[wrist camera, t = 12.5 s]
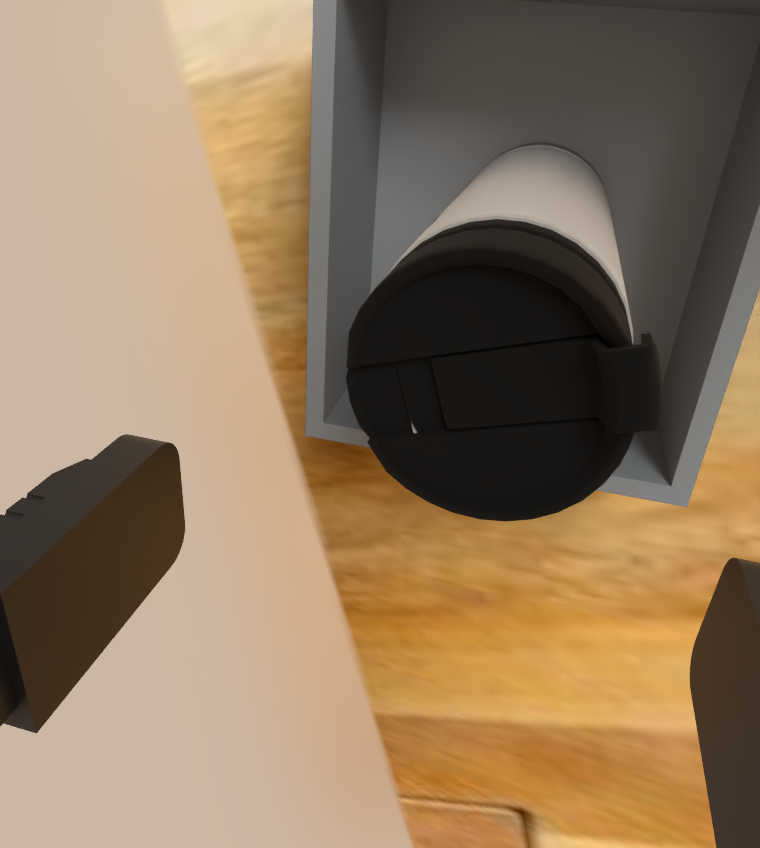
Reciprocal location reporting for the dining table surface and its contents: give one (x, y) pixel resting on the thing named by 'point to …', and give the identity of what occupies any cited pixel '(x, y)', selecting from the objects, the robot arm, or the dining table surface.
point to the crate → (557, 124)
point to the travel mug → (506, 346)
